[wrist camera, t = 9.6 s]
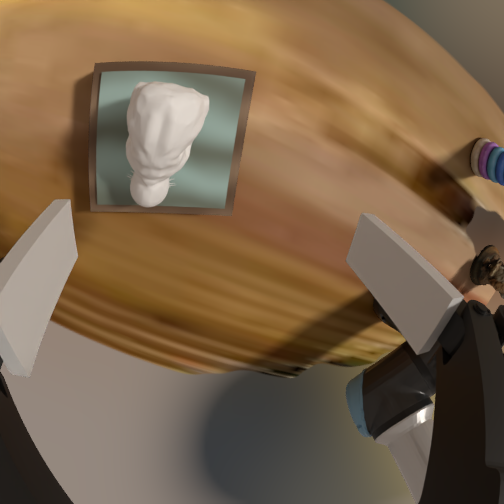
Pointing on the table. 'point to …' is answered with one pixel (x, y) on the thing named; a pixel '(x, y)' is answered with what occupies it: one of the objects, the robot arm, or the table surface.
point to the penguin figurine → (161, 136)
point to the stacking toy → (488, 160)
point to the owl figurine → (489, 269)
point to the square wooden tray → (202, 149)
